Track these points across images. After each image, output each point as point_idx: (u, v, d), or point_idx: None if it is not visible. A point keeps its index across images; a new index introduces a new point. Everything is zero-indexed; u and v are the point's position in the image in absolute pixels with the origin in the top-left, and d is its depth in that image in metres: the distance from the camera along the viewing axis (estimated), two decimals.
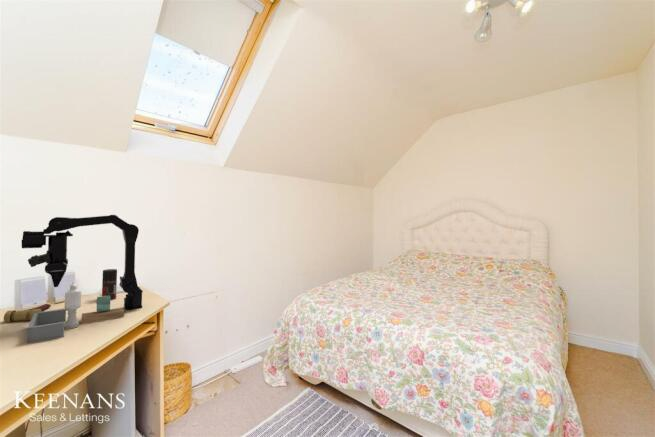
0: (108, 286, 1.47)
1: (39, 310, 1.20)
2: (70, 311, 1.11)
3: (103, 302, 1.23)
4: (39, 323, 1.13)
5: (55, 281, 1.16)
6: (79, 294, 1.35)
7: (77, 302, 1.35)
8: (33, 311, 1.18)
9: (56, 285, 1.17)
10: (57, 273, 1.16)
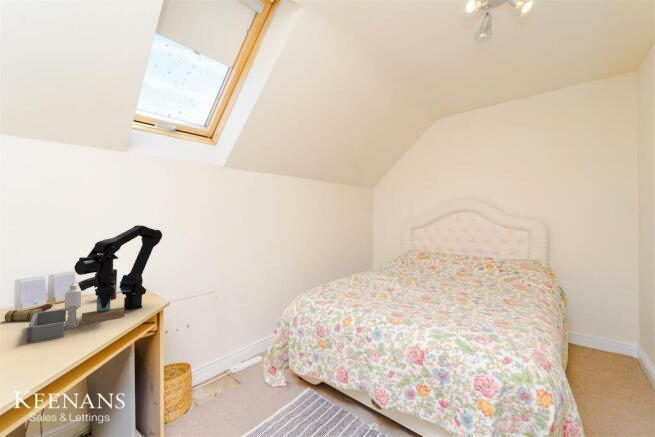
0: None
1: (40, 310, 1.20)
2: (70, 311, 1.11)
3: None
4: (39, 323, 1.13)
5: (103, 303, 1.22)
6: (79, 294, 1.35)
7: (77, 302, 1.35)
8: (34, 311, 1.18)
9: (103, 306, 1.22)
10: (105, 295, 1.22)
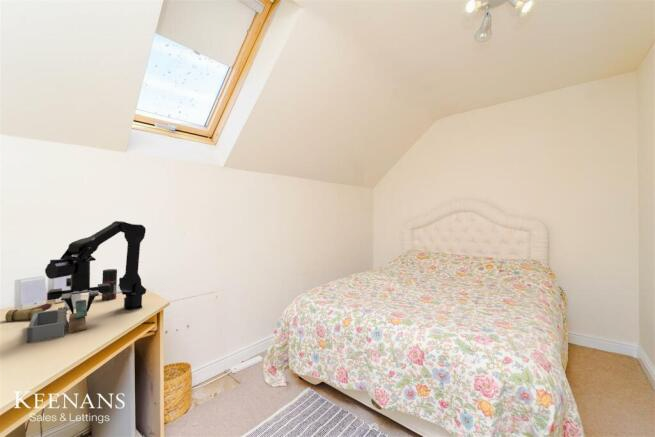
0: None
1: (40, 309, 1.20)
2: (60, 312, 1.10)
3: None
4: (39, 323, 1.13)
5: None
6: (79, 294, 1.35)
7: None
8: (34, 310, 1.18)
9: (72, 312, 1.13)
10: None
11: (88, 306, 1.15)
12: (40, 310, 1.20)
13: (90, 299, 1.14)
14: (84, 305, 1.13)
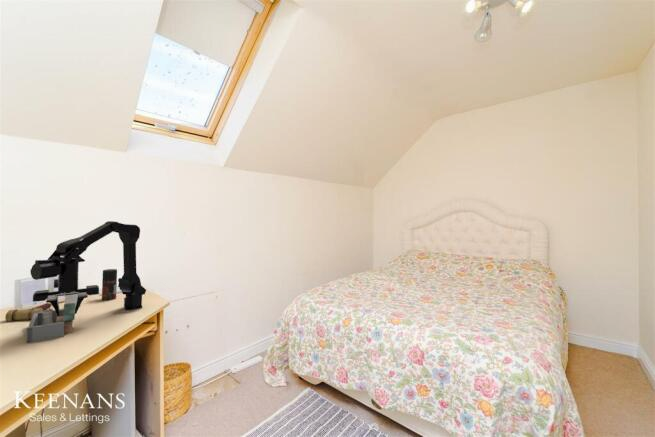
0: (108, 286, 1.47)
1: (40, 309, 1.21)
2: (45, 314, 1.07)
3: None
4: (39, 323, 1.13)
5: None
6: None
7: None
8: (35, 310, 1.19)
9: None
10: None
11: (76, 308, 1.12)
12: (40, 310, 1.20)
13: (78, 301, 1.12)
14: (73, 308, 1.11)
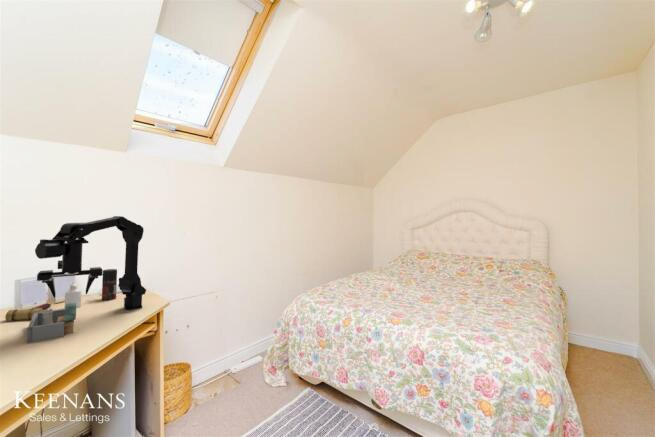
0: (108, 286, 1.47)
1: (41, 309, 1.21)
2: (45, 314, 1.07)
3: None
4: (39, 323, 1.13)
5: None
6: (79, 294, 1.35)
7: (77, 302, 1.35)
8: (35, 310, 1.19)
9: None
10: None
11: (87, 288, 1.14)
12: (40, 310, 1.20)
13: (89, 281, 1.14)
14: (74, 308, 1.11)
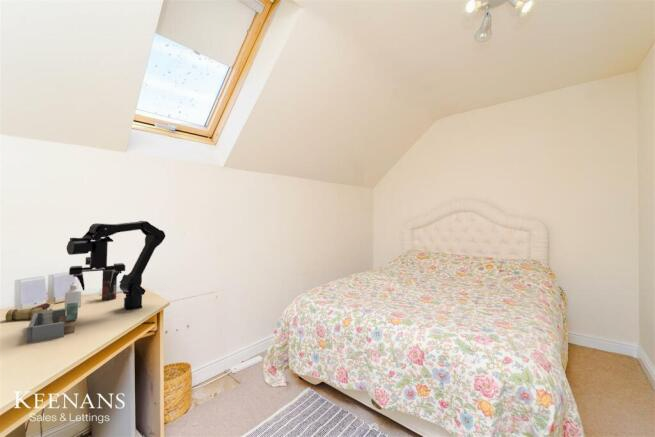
0: (108, 286, 1.47)
1: (41, 309, 1.21)
2: (45, 314, 1.07)
3: None
4: (39, 323, 1.13)
5: None
6: (79, 294, 1.35)
7: (77, 302, 1.35)
8: (35, 310, 1.19)
9: (83, 288, 1.22)
10: None
11: (112, 282, 1.27)
12: (40, 309, 1.21)
13: (114, 276, 1.26)
14: (75, 308, 1.12)
